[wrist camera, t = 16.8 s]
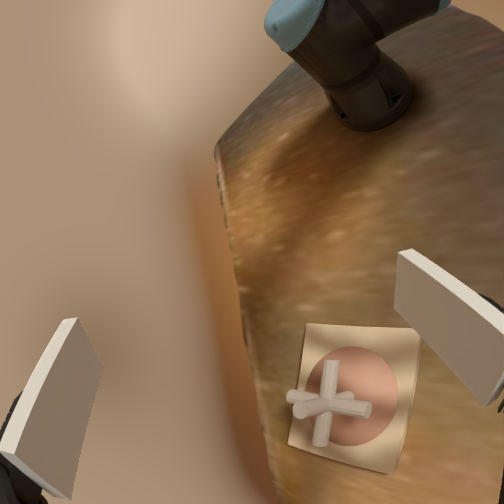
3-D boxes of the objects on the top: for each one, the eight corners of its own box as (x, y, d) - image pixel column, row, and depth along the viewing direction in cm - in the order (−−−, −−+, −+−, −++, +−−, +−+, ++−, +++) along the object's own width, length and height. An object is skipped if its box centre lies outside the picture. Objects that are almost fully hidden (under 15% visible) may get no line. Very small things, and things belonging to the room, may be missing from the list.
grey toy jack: (309, 426, 34) (256, 441, 28) (318, 355, 37) (267, 355, 30) (378, 441, 27) (336, 468, 21) (390, 360, 30) (353, 365, 23)
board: (312, 324, 41) (305, 322, 40) (423, 328, 30) (419, 328, 29) (293, 442, 37) (286, 444, 36) (395, 470, 25) (390, 475, 24)
